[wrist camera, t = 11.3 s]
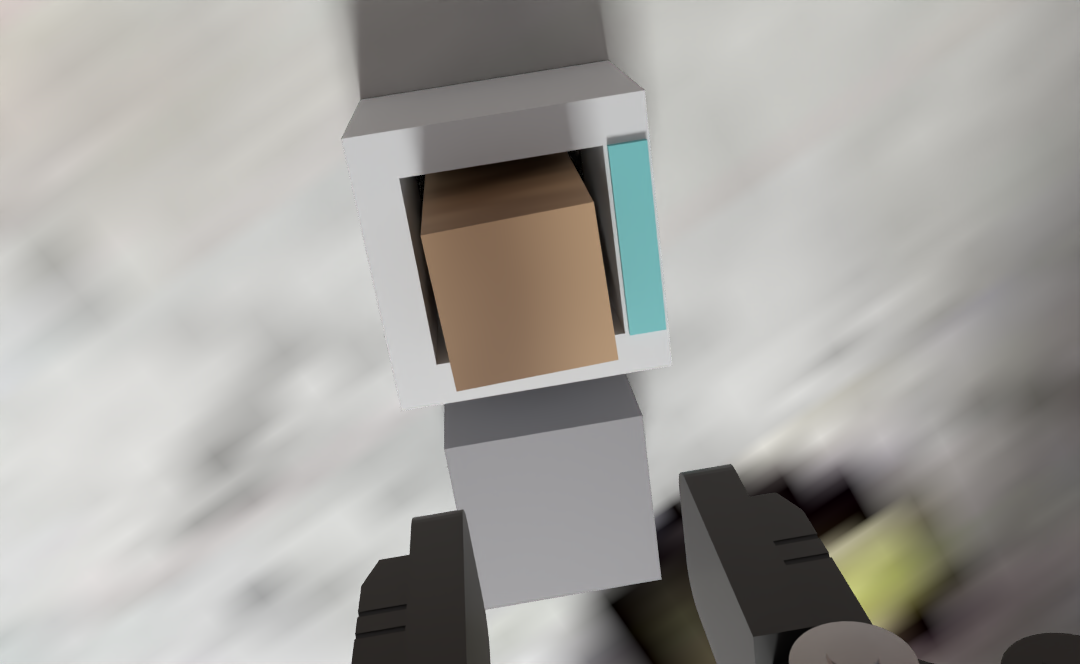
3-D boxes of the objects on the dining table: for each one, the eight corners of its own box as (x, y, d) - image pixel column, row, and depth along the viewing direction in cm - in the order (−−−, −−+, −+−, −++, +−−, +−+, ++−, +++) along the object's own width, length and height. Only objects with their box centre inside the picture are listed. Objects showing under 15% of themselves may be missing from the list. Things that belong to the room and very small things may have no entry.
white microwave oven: (608, 60, 30) (646, 91, 25) (634, 292, 33) (673, 368, 27) (360, 99, 30) (340, 140, 24) (408, 329, 33) (401, 414, 27)
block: (553, 128, 31) (593, 202, 23) (574, 249, 32) (618, 360, 24) (427, 152, 31) (420, 235, 23) (453, 272, 32) (456, 391, 24)
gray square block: (618, 356, 34) (642, 415, 30) (636, 504, 36) (661, 579, 32) (444, 384, 34) (444, 449, 30) (474, 532, 36) (477, 610, 32)
